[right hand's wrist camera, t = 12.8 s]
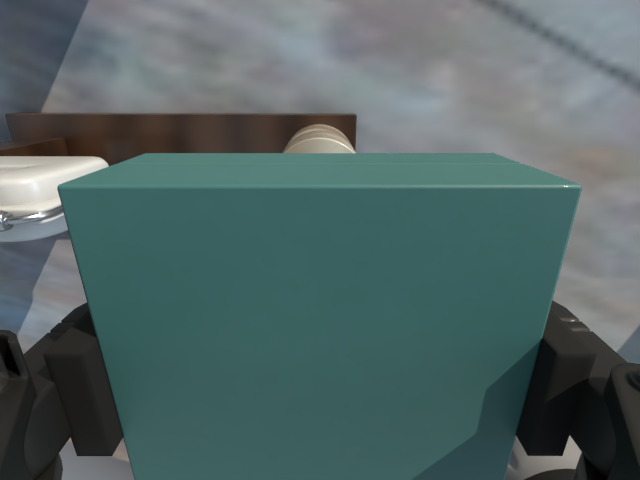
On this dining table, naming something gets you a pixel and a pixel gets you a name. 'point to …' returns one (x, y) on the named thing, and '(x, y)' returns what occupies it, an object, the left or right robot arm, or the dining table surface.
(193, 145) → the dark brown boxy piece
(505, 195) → the cap block
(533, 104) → the dining table surface
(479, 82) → the dining table surface
